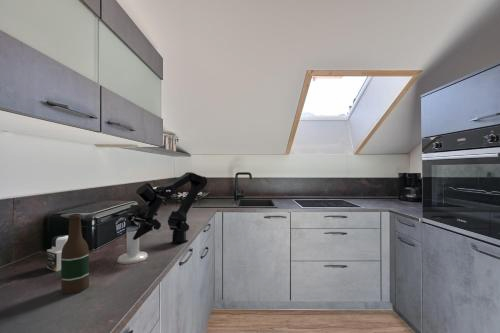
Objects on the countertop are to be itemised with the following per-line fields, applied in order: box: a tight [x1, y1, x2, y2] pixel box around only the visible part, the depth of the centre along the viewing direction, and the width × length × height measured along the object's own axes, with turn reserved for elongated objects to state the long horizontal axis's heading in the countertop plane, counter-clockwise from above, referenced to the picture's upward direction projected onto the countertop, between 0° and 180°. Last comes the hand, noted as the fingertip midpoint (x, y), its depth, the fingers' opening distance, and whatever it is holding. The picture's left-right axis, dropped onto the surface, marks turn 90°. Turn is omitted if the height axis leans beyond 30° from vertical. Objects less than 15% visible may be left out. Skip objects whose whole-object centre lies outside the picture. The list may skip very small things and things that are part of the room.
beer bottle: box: [60, 213, 90, 296], centre depth 80 cm, size 8×8×24 cm
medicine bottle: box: [46, 234, 68, 272], centre depth 98 cm, size 7×7×12 cm
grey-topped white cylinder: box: [126, 225, 140, 255], centre depth 106 cm, size 5×5×11 cm
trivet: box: [116, 250, 149, 265], centre depth 106 cm, size 12×12×1 cm
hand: (130, 238), depth 105 cm, fingers closed on grey-topped white cylinder, 5 cm apart
